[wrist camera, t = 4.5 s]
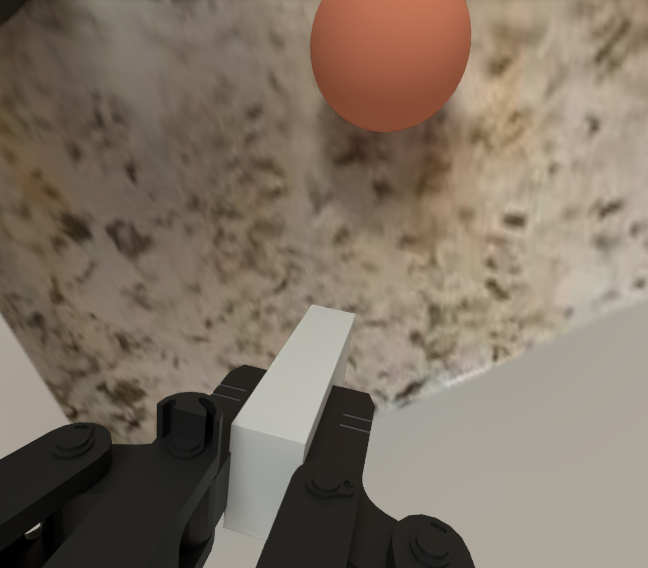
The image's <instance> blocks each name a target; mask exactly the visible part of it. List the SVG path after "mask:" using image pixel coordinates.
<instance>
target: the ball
mask: <svg viewBox="0 0 648 568" xmlns="http://www.w3.org/2000/svg"><path fill="white" fill-rule="evenodd" d="M470 46H471V23H470V17H469V12H468V8H467V5H466V2H465V0H322V1H321V3H320V5H319V7H318V10H317V12H316V15H315V19H314V22H313V26H312V32H311V42H310V53H311V63H312V68H313V72H314V76H315V79H316V82H317V84H318V87H319V89H320V91H321V93H322V95H323V96H324V98H325V100H326V101H327V102H328V104H329V105H330V106H331V107H332V108H333V109H334V110H335V111H336V112H337V113H338V114H339V115H340V116H341V117H343V118H344V119H345V120H347V121H348V122H350V123H352V124H354V125H356V126H358V127H361V128H363V129H367V130H371V131H377V132H394V131H399V130H404V129H407V128H410V127H413V126H415V125H417V124H419V123H421V122H423V121H425V120H426V119H428V118H429V117H431V116H432V115H433V114H435V113H436V112H437V111H438V110H439V109H440V108H441V107H442V106H443V105H444V104H445V103H446V102H447V101H448V100H449V98H450V97H451V95H452V94H453V93H454V91H455V90H456V88H457V86H458V84H459V83H460V81H461V78H462V76H463V74H464V71H465V68H466V65H467V61H468V58H469V52H470Z"/></svg>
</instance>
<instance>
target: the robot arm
mask: <svg viewBox="0 0 648 568" xmlns="http://www.w3.org/2000/svg"><path fill="white" fill-rule="evenodd" d="M24 1H25V0H0V24H2V23H3V22H4V21H6V20H7V19H8V18H9V17H10V16H11V15H12V14H13V13H14V12H16V10H17V9H18V8H19V7H20V6H21V5H22V3H23V2H24ZM355 315H356V314H354V313H349V312H344V311H340V310H335V309H330V308H326V307H321V306H317V305H311V307H310V308H309V310H308V311H307V313H306V314H305V316H304V317H303V319H302V320H301V321H300V323H299V324H298V326H297V327H296V329H295V330H294V332H293V333H292V335H291V336H290V338H289V339H288V341H287V342H286V344H285V345H284V347H283V348H282V350H281V351H280V353H279V354H278V356H277V357H276V359H275V360H274V362H273V363H272V365H271V366H270V368H269V369H268V370H264V369H260V368H256V367H252V366H248V365H242V366H241V367H239V368H237V369H235V370H233V371H231V372H229V373H228V375H227V376H226V377H225V378H224V379H223V381H222V382H221V384H220V385H218V387H217V388H216V389H215V390H214V391H213V394H211V395H210V396H209V395H207V394H205V393H198V392H184V393H177V394H174V395H171V396H168V397H166V398H164V399H163V400H162V401H160V402H159V403H157V438H156V439H155V440H154V441H153V443H152V444H141V445H130V444H112V440H111V434H110V432H109V431H108V430H107V429H106V428H105V427H104V426H101V425H98V424H95V423H80V422H79V423H74V424H69V425H65V426H62V427H60V428H57V429H55V430H53V431H50V432H49V433H47V434H45V435H43V436H41V437H40V438H38V439H36V440H34V441H32V442H31V443H29V444H27V445H25V446H24V447H22V448H20V449H18V450H16V451H15V452H13V453H11V454H9V455H7V456H6V457H4V458H2V459H0V568H203V566H204V564H205V562H206V560H207V558H208V556H209V554H210V552H211V549H212V546H213V543H214V535H215V527H216V525H217V523H218V521H219V519H220V518H221V516H222V514H223V512H224V524H223V527H224V528H227V529H230V530H233V531H237V532H240V533H243V534H246V535H249V536H253V537H256V538H259V539H262V540H265V541H266V543H265V545H264V548H263V550H262V553H261V555H260V558H259V560H258V563H257V566H256V568H475V566H474V564H473V560H472V558H471V555H470V552H469V551H468V548H467V546H466V545H465V543H464V541H463V539H462V538H461V537H460V535H459V534H458V533H456V532H455V530H453V528H451V527H450V526H449V525H447V524H446V523H444V522H442V521H440V520H439V519H437V518H434V517H430V516H426V515H422V514H420V515H409V516H407V517H405V518H404V519H402V520H400V521H397V520H396V519H394V518H392V517H391V516H389V515H387V514H386V513H384V512H383V511H382V510H380V509H379V508H378V507H376V506H375V504H374V503H373V502H372V501H371V500H370V499H369V497H368V496H367V494H366V492H365V490H364V487H363V483H362V475H363V469H364V464H365V458H366V452H367V447H368V442H369V436H370V431H371V425H372V420H373V414H374V409H375V406H374V404H373V401H372V399H371V397H370V394H368V393H364V392H360V391H356V390H352V389H348V388H344V387H342V386H343V382H344V377H345V371H346V365H347V360H348V354H349V349H350V343H351V338H352V332H353V327H354V321H355ZM224 510H225V511H224ZM39 523H40V527H39V528H37V529H36V530H34V531H32V532H30V533H28V534H25V533H26V532H28V531H29V530H31V529H32V528H33V527H35V526H36V525H37V524H39Z"/></svg>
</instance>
